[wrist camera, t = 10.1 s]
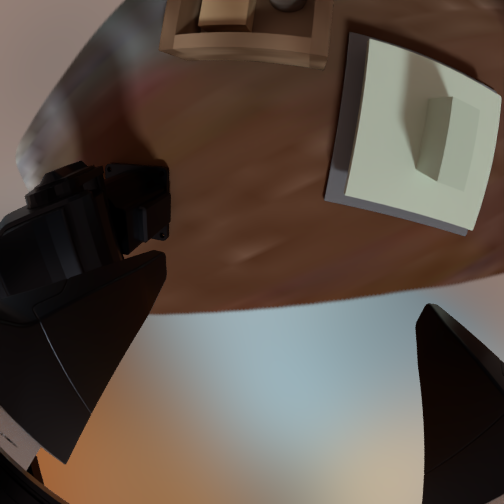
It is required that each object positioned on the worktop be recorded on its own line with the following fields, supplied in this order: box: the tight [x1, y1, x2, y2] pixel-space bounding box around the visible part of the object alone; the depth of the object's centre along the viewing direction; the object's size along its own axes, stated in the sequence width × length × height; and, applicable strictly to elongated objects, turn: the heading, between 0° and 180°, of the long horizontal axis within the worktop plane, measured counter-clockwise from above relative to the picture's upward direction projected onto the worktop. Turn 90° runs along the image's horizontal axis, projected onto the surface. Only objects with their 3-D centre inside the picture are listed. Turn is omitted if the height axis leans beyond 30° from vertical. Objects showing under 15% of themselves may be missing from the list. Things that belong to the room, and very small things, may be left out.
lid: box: [344, 39, 501, 231], centre depth 13 cm, size 11×11×6 cm
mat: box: [324, 32, 497, 236], centre depth 16 cm, size 13×13×1 cm
